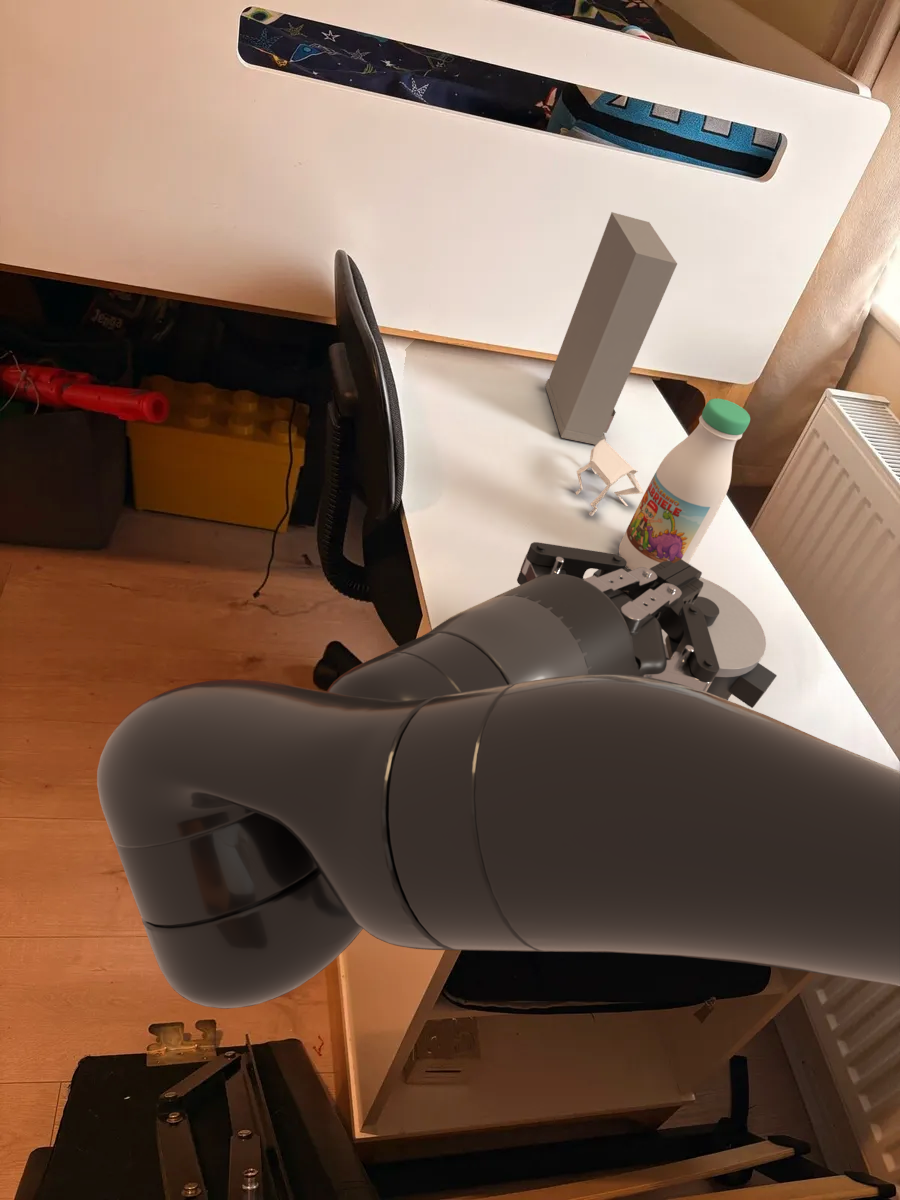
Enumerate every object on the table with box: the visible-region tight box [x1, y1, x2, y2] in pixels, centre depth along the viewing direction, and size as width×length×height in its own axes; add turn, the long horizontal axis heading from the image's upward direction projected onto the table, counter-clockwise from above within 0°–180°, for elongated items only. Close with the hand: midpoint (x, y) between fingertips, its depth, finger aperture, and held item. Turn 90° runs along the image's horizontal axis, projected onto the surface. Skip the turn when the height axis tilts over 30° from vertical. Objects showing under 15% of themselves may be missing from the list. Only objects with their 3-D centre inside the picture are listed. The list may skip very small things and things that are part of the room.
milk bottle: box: [618, 398, 751, 570], centre depth 95 cm, size 8×8×20 cm
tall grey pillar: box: [544, 211, 678, 446], centre depth 115 cm, size 14×6×25 cm, turn 4°
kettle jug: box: [592, 569, 777, 709], centre depth 77 cm, size 13×17×14 cm
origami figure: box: [575, 439, 644, 517], centre depth 109 cm, size 12×8×5 cm
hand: (685, 578), depth 54 cm, fingers closed
